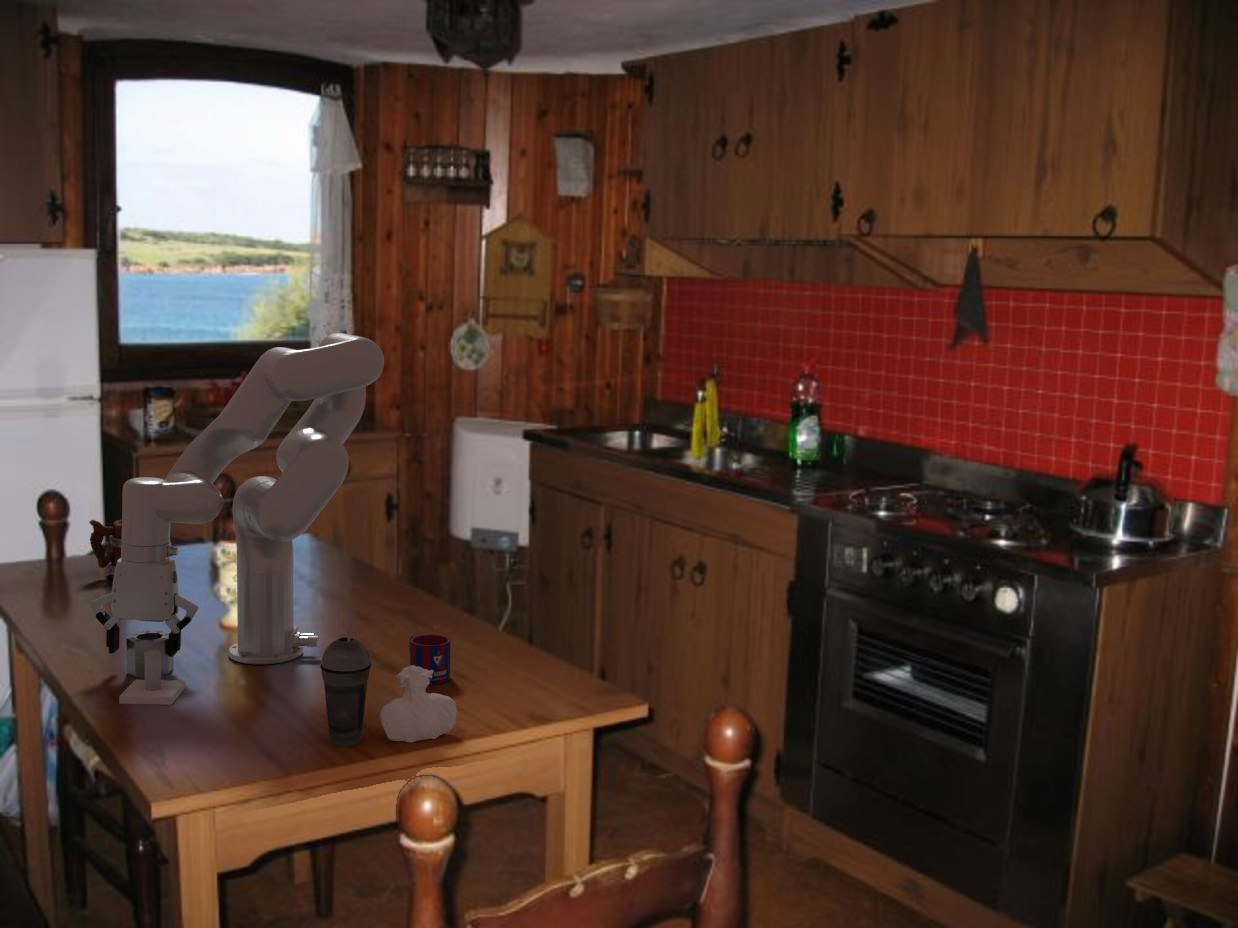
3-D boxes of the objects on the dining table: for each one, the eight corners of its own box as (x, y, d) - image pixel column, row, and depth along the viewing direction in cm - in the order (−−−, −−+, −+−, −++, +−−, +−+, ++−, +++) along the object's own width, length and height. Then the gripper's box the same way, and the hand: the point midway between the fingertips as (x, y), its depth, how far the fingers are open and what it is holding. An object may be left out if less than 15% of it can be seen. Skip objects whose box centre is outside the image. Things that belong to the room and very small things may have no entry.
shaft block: (185, 687, 209) (185, 644, 208) (171, 704, 201) (170, 660, 200) (135, 686, 208) (134, 643, 207) (119, 703, 200) (118, 659, 199)
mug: (175, 577, 276) (161, 510, 272) (106, 595, 268) (91, 527, 265) (162, 565, 285) (148, 500, 281) (95, 582, 278) (80, 516, 274)
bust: (453, 742, 196) (437, 672, 200) (469, 726, 190) (452, 654, 194) (377, 754, 190) (362, 682, 194) (391, 738, 184) (376, 664, 189)
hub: (176, 664, 220) (176, 630, 219) (165, 677, 213) (164, 642, 212) (136, 663, 219) (135, 629, 218) (123, 676, 213) (122, 641, 212)
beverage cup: (349, 727, 194) (349, 599, 191) (381, 740, 189) (382, 609, 186) (309, 740, 188) (309, 608, 185) (341, 754, 184) (342, 618, 181)
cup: (418, 687, 213) (419, 647, 212) (397, 669, 222) (397, 631, 220) (456, 681, 216) (456, 642, 215) (433, 664, 225) (433, 627, 224)
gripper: (204, 551, 217) (202, 649, 219) (99, 544, 216) (98, 643, 218) (192, 560, 210) (190, 662, 212) (84, 554, 208) (82, 656, 211)
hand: (143, 652), depth 215 cm, fingers open, 9 cm apart
